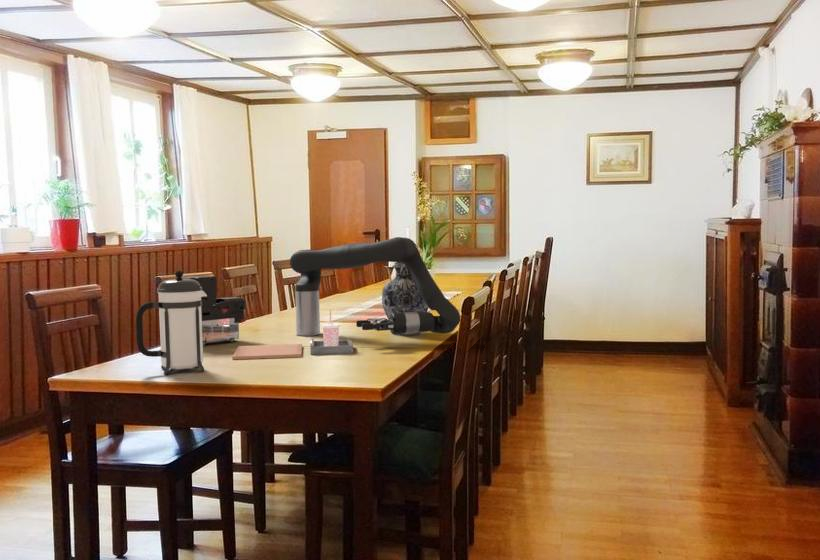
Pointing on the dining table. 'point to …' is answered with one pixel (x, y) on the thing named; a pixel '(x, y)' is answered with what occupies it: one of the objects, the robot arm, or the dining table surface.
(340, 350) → the square metal frame
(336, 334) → the beverage cup
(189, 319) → the coffee press
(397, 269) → the decorative vase
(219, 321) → the bill acceptor
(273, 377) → the dining table surface
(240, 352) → the terracotta tile
